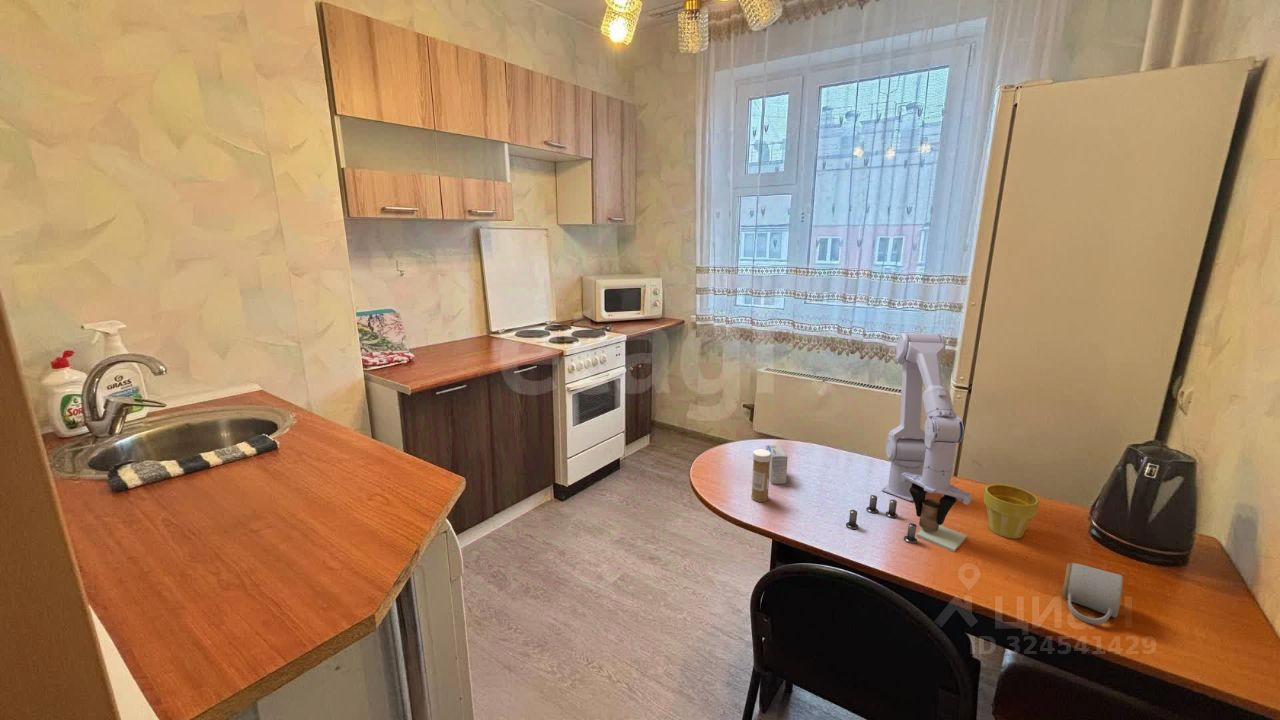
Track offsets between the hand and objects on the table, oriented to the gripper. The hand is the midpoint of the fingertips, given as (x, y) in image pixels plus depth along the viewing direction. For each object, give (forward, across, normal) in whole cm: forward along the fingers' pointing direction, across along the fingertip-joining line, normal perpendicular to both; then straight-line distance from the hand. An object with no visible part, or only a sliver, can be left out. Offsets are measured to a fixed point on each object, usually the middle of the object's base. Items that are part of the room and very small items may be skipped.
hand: (929, 519), depth 120 cm
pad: (+3, +3, 0) cm, 4 cm away
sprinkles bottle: (+4, -36, -17) cm, 40 cm away
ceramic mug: (+4, +30, -4) cm, 31 cm away
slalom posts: (+3, -7, -5) cm, 10 cm away
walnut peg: (+2, 0, 0) cm, 2 cm away
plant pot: (+4, +12, +14) cm, 19 cm away
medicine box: (+4, -40, -4) cm, 40 cm away
